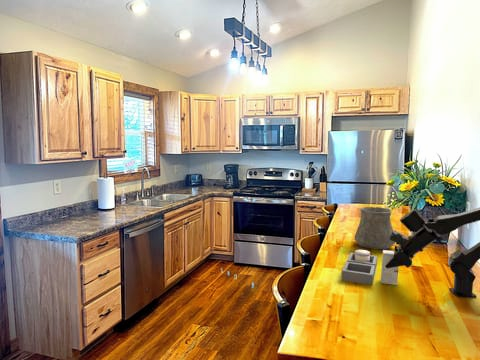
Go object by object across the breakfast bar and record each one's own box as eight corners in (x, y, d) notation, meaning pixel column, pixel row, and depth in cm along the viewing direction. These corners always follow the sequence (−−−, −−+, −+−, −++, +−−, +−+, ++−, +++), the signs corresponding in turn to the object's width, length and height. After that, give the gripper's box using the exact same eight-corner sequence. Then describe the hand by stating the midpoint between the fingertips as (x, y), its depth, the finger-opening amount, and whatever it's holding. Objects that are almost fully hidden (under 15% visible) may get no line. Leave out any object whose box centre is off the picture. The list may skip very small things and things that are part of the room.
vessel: (375, 239, 200) (377, 203, 197) (405, 250, 179) (407, 211, 176) (342, 242, 193) (343, 206, 191) (368, 255, 172) (370, 214, 170)
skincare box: (380, 283, 138) (382, 252, 137) (380, 279, 143) (382, 249, 141) (398, 285, 136) (399, 254, 135) (397, 281, 140) (399, 251, 139)
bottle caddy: (376, 264, 159) (377, 250, 158) (372, 285, 137) (373, 268, 136) (350, 261, 163) (350, 246, 163) (341, 280, 141) (342, 263, 140)
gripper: (403, 219, 143) (373, 243, 149) (403, 230, 127) (369, 256, 132) (424, 241, 141) (392, 264, 147) (427, 254, 124) (391, 280, 130)
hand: (386, 265), depth 139 cm, fingers closed on skincare box, 4 cm apart
